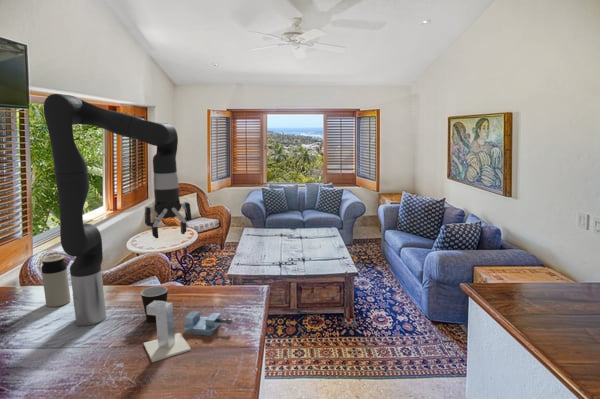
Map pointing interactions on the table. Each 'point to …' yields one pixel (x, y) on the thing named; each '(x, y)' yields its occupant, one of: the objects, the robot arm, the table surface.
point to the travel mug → (55, 280)
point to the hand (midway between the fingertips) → (169, 235)
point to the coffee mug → (151, 295)
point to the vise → (203, 323)
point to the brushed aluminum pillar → (163, 322)
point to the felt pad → (163, 353)
